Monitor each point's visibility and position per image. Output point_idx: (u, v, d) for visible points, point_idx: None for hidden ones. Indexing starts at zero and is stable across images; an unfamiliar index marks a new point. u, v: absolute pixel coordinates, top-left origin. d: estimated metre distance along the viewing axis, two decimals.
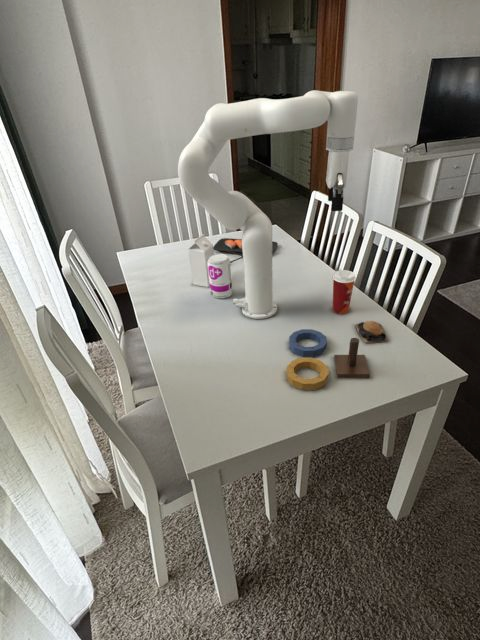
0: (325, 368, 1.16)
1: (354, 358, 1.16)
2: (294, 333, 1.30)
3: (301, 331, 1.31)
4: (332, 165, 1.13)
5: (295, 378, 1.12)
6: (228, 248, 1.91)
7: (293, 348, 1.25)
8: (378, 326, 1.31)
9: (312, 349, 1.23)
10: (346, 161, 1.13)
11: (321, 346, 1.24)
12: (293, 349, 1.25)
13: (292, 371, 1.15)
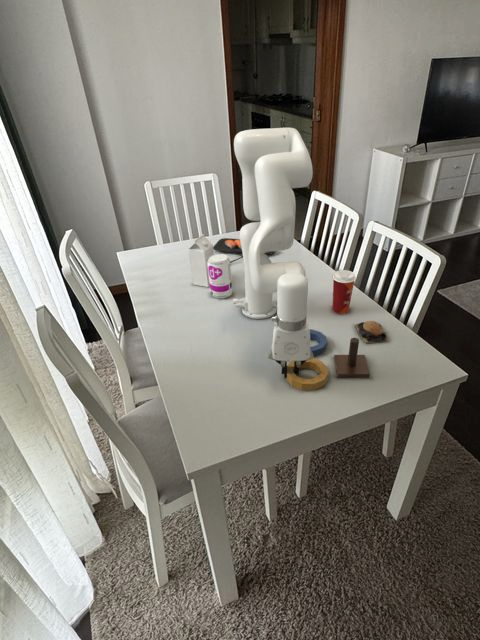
0: (325, 368, 1.16)
1: (354, 358, 1.16)
2: None
3: None
4: (309, 340, 1.06)
5: (295, 378, 1.12)
6: (228, 248, 1.91)
7: None
8: (378, 326, 1.31)
9: (312, 349, 1.23)
10: None
11: (321, 346, 1.24)
12: None
13: (292, 371, 1.15)
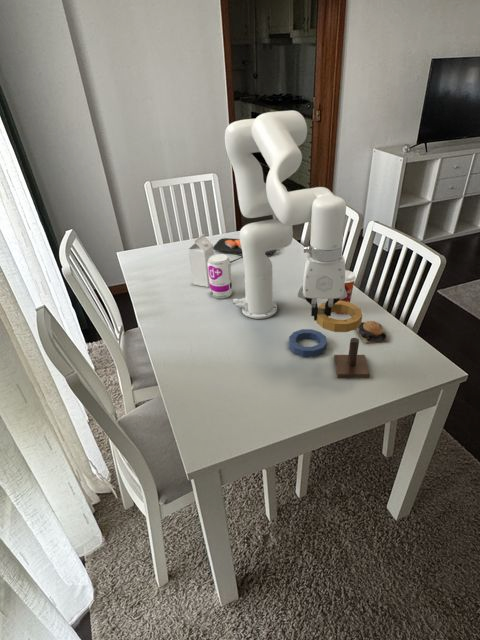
0: (358, 310, 1.07)
1: (354, 358, 1.16)
2: (294, 333, 1.30)
3: (301, 331, 1.31)
4: (344, 274, 0.97)
5: (327, 318, 1.03)
6: (228, 248, 1.91)
7: (293, 348, 1.25)
8: (378, 326, 1.31)
9: (312, 349, 1.23)
10: None
11: (321, 346, 1.24)
12: (293, 349, 1.25)
13: (322, 313, 1.06)
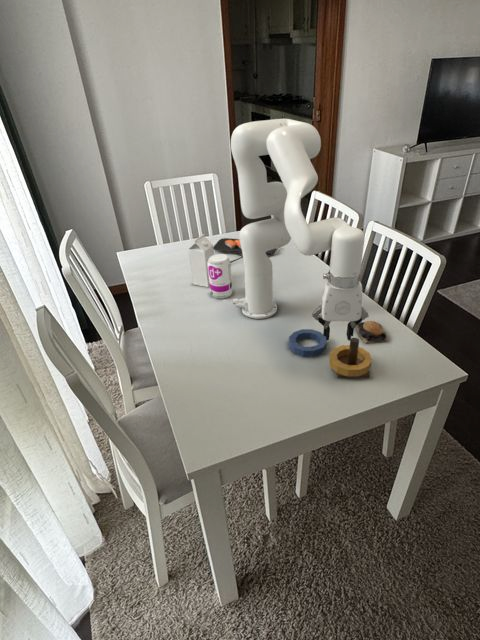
0: (367, 354, 1.18)
1: (354, 358, 1.16)
2: (294, 333, 1.30)
3: (301, 331, 1.31)
4: (361, 298, 1.03)
5: (340, 364, 1.14)
6: (228, 248, 1.91)
7: (293, 348, 1.25)
8: (378, 326, 1.31)
9: (312, 349, 1.23)
10: None
11: (321, 346, 1.24)
12: (293, 349, 1.25)
13: (336, 358, 1.17)
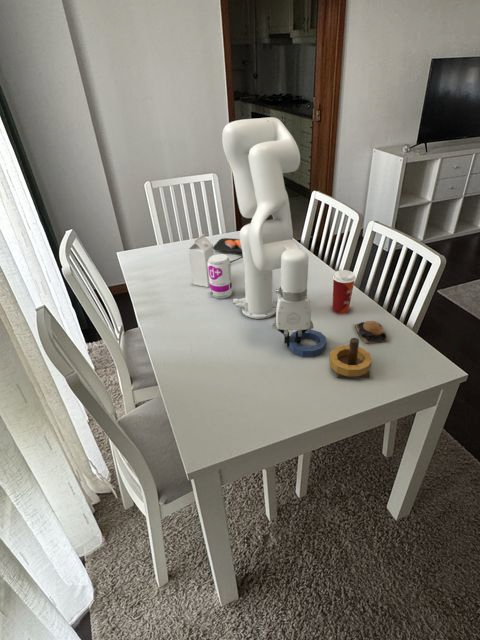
0: (367, 354, 1.18)
1: (354, 358, 1.16)
2: (294, 333, 1.30)
3: None
4: (309, 310, 1.18)
5: (340, 364, 1.14)
6: (228, 248, 1.91)
7: (293, 348, 1.25)
8: (378, 326, 1.31)
9: (312, 349, 1.23)
10: None
11: (321, 346, 1.24)
12: (293, 349, 1.25)
13: (336, 358, 1.17)
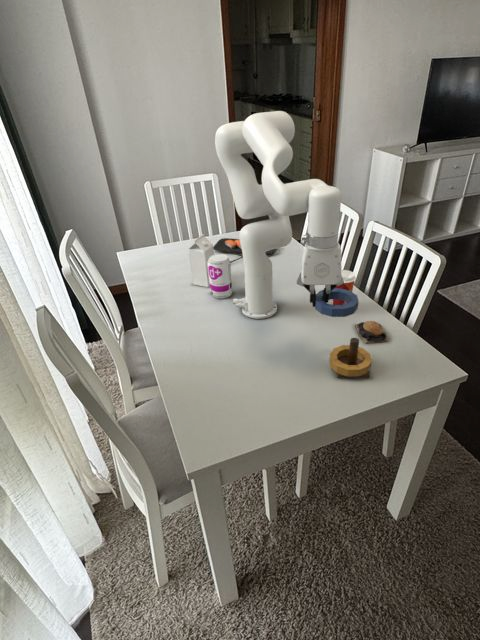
0: (367, 354, 1.18)
1: (354, 358, 1.16)
2: (320, 292, 1.14)
3: None
4: (340, 260, 1.02)
5: (340, 364, 1.14)
6: (228, 248, 1.91)
7: (320, 307, 1.09)
8: (378, 326, 1.31)
9: (342, 307, 1.07)
10: None
11: (352, 304, 1.08)
12: (320, 308, 1.09)
13: (336, 358, 1.17)
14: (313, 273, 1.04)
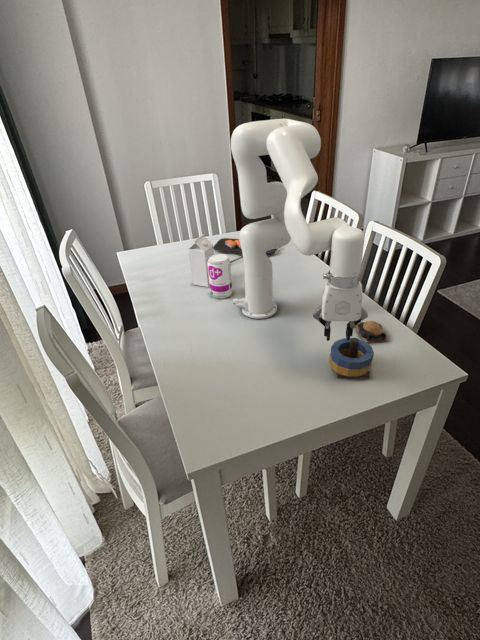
0: None
1: None
2: (336, 343, 1.18)
3: (343, 340, 1.19)
4: (361, 298, 1.03)
5: None
6: (228, 248, 1.91)
7: (337, 360, 1.13)
8: (378, 326, 1.31)
9: (359, 361, 1.11)
10: None
11: (368, 357, 1.12)
12: (337, 361, 1.13)
13: None
14: (334, 310, 1.05)
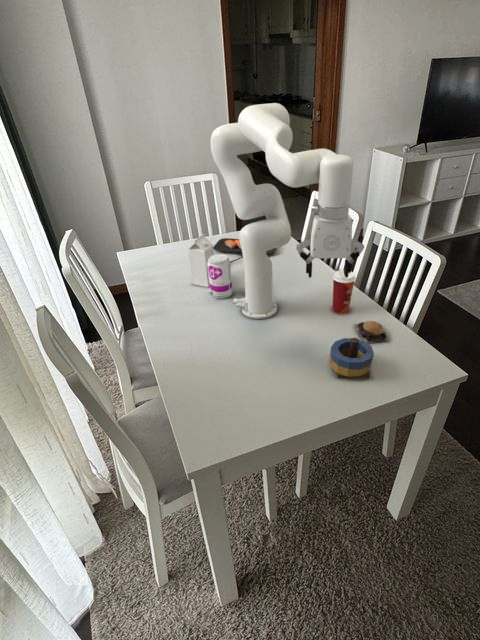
0: None
1: None
2: (336, 343, 1.18)
3: (343, 340, 1.19)
4: (351, 232, 1.00)
5: None
6: (228, 248, 1.91)
7: (337, 360, 1.13)
8: (378, 326, 1.31)
9: (359, 361, 1.11)
10: None
11: (368, 357, 1.12)
12: (337, 361, 1.13)
13: None
14: (323, 246, 1.02)
